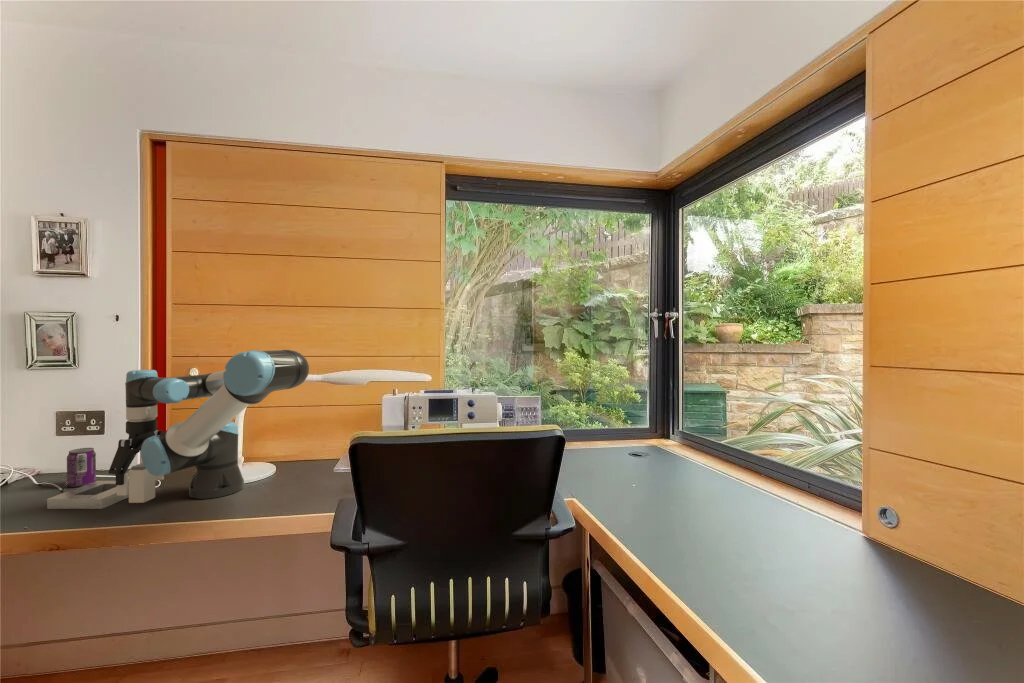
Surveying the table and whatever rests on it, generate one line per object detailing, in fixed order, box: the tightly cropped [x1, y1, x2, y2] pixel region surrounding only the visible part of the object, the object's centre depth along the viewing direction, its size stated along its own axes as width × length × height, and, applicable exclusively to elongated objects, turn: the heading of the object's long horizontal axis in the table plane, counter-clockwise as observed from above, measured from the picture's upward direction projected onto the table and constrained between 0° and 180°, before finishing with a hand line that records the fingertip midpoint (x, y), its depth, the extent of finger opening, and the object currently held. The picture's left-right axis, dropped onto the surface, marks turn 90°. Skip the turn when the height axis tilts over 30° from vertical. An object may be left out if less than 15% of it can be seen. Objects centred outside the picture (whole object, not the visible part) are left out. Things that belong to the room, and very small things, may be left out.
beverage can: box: [66, 447, 97, 488], centre depth 150 cm, size 7×7×12 cm
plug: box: [128, 462, 156, 504], centre depth 136 cm, size 4×4×11 cm
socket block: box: [46, 480, 129, 510], centre depth 137 cm, size 16×16×4 cm
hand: (141, 487), depth 136 cm, fingers open, 13 cm apart
